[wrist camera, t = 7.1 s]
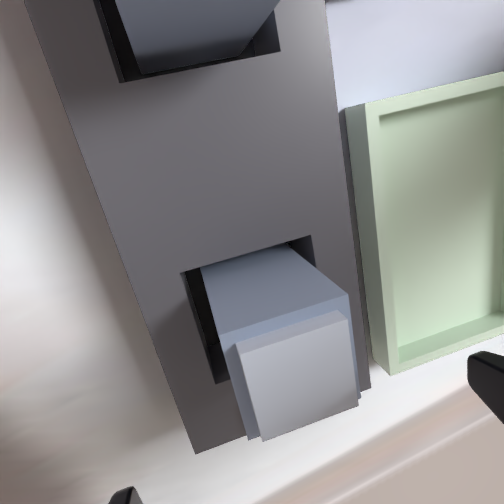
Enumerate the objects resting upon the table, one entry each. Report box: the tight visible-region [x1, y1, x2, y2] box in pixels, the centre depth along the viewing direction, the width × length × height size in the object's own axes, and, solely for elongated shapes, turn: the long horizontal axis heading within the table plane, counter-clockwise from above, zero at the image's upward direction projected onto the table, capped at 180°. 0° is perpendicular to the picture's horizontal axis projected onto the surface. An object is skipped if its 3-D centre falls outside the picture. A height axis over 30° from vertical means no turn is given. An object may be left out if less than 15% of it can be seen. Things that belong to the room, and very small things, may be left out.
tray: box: [345, 71, 504, 376], centre depth 18 cm, size 9×14×2 cm, turn 13°
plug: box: [200, 243, 361, 442], centre depth 13 cm, size 4×4×8 cm
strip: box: [24, 0, 371, 454], centre depth 13 cm, size 9×22×4 cm, turn 13°
